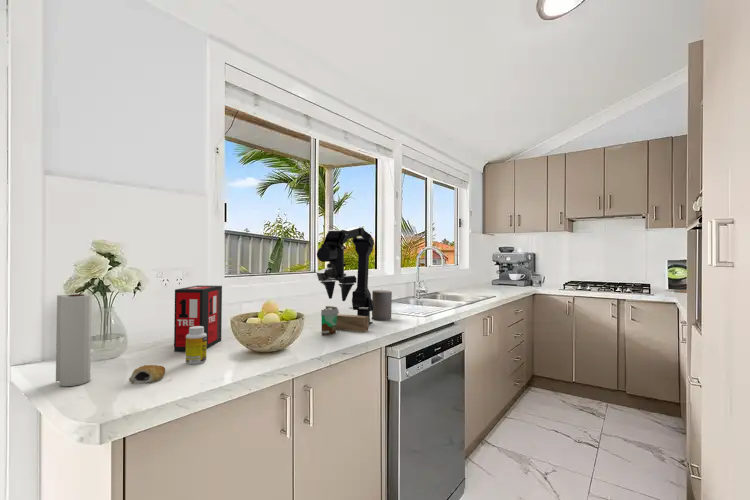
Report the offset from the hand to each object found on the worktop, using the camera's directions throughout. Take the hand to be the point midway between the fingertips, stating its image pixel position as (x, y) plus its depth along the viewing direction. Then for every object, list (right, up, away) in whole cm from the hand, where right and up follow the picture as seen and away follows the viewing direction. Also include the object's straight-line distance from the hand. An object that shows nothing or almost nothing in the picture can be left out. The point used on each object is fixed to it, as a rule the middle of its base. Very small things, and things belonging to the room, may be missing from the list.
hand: (336, 299), depth 160 cm
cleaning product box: (-45, -13, -24) cm, 52 cm away
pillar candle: (+19, -14, +36) cm, 43 cm away
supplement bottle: (-37, -13, -44) cm, 59 cm away
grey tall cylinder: (-58, -13, -63) cm, 87 cm away
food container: (-2, -14, 0) cm, 14 cm away
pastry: (-42, -13, -60) cm, 74 cm away
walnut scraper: (+5, -14, +8) cm, 17 cm away
